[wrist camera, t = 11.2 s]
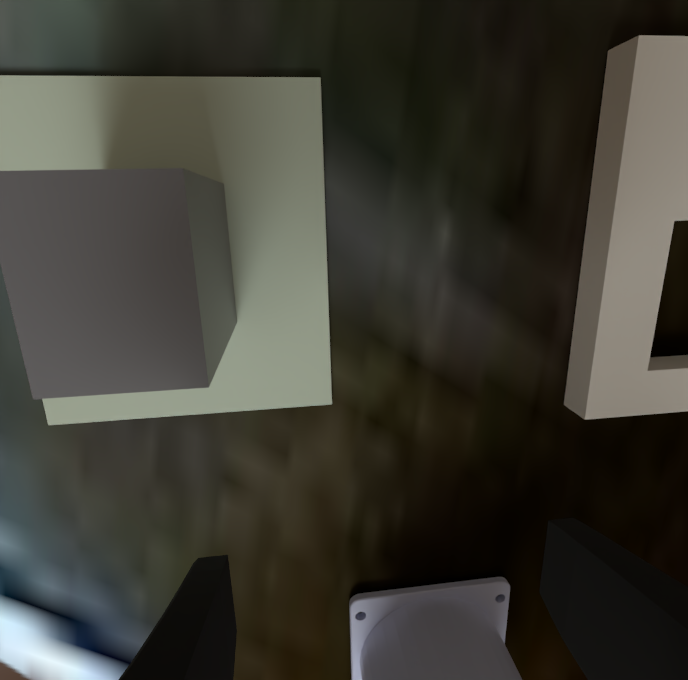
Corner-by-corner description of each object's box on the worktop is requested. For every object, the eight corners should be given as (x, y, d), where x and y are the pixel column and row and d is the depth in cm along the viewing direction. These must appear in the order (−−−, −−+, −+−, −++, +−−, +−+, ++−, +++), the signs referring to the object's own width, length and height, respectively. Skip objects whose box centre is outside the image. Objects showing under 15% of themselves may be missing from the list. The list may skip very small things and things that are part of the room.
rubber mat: (331, 401, 19) (332, 404, 19) (52, 421, 18) (48, 425, 17) (320, 79, 15) (320, 77, 15) (-28, 77, 14) (-34, 75, 14)
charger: (237, 322, 17) (209, 387, 11) (127, 328, 17) (33, 399, 10) (224, 183, 16) (183, 167, 9) (103, 186, 15) (-22, 171, 9)
